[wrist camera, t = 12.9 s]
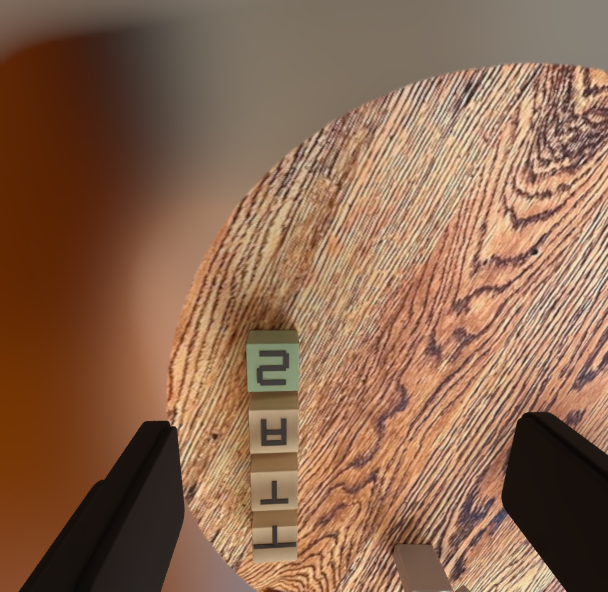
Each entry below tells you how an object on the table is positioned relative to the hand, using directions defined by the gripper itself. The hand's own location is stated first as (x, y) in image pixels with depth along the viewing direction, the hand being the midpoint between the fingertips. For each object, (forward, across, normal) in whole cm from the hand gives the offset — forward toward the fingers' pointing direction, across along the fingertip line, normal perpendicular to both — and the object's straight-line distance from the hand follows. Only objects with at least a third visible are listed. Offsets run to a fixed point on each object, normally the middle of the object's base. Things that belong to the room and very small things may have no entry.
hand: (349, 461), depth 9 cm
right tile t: (+18, +2, +16) cm, 24 cm away
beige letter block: (+18, +2, +22) cm, 28 cm away
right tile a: (+18, +3, +10) cm, 21 cm away
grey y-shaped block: (+18, -13, +28) cm, 36 cm away
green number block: (+18, +3, +5) cm, 19 cm away
